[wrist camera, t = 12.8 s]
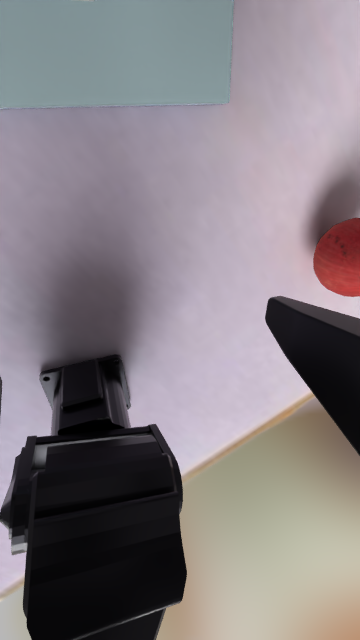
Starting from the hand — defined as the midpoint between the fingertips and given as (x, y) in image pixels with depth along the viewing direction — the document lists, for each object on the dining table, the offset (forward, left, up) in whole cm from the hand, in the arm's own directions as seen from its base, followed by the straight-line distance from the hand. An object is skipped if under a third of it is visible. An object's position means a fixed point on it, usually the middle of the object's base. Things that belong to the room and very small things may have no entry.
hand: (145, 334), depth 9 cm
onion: (-3, -18, -12) cm, 22 cm away
